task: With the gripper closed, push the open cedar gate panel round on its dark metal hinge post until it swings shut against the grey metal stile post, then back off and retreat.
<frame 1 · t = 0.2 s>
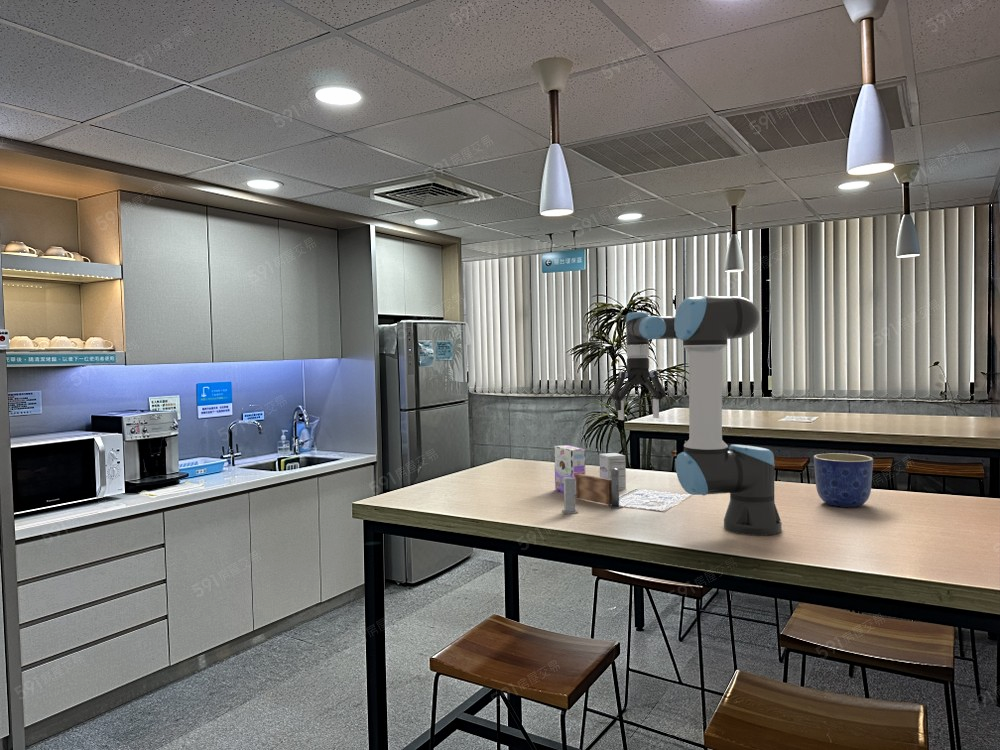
hand: (638, 418, 234), 27 cm above the table, fingers open, 13 cm apart
candy box: (570, 492, 245), on the table
planter: (843, 505, 216), on the table
hinge post: (615, 507, 219), on the table
gate: (593, 488, 227), point 5 cm above the table, hinge at 60.0°
supplement box: (612, 488, 250), on the table
stile: (569, 511, 214), on the table
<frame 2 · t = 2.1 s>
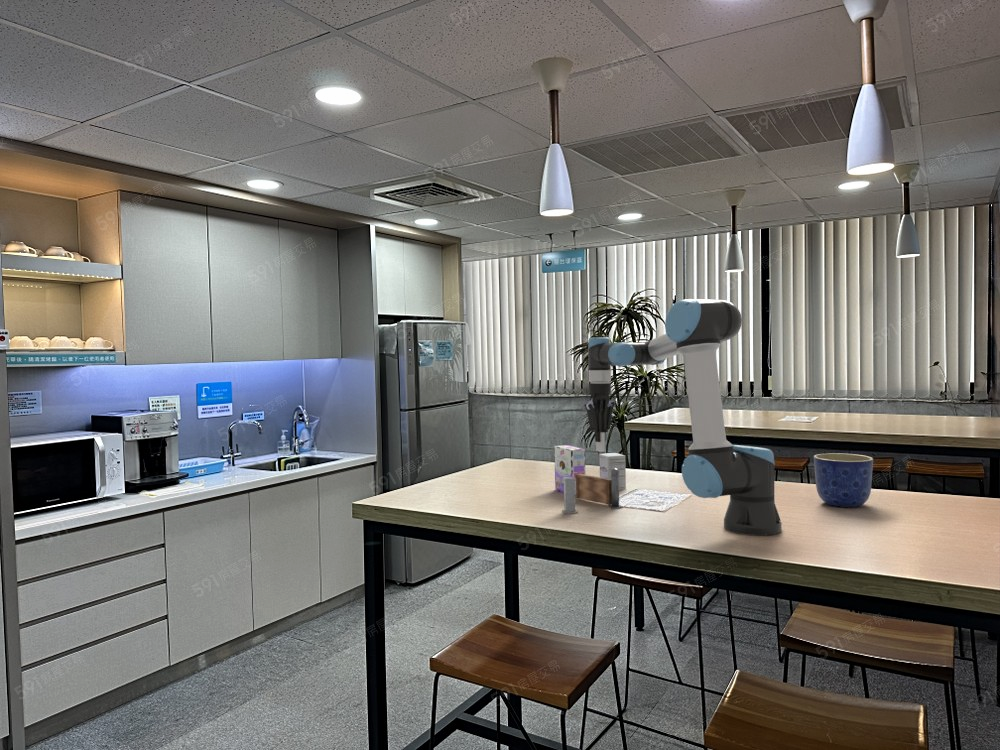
hand: (600, 451, 232), 16 cm above the table, fingers closed
nothing on the table moved.
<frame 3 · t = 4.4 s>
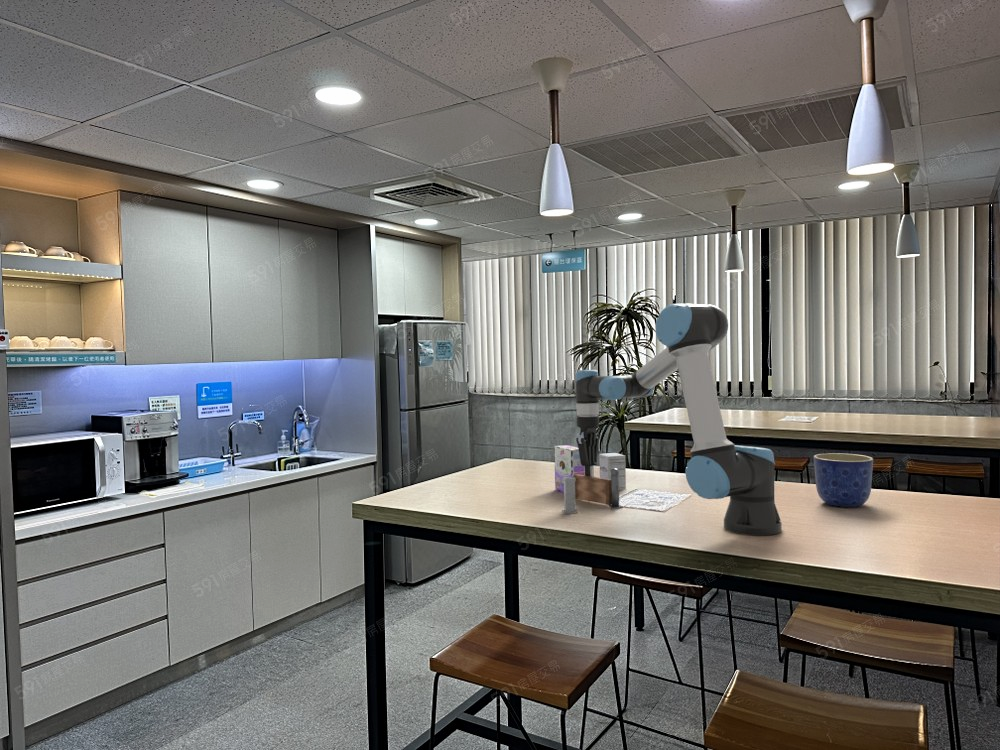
hand: (589, 484, 229), 5 cm above the table, fingers closed
gate: (592, 489, 226), point 5 cm above the table, hinge at 56.2°, touching gripper
everything else where it was.
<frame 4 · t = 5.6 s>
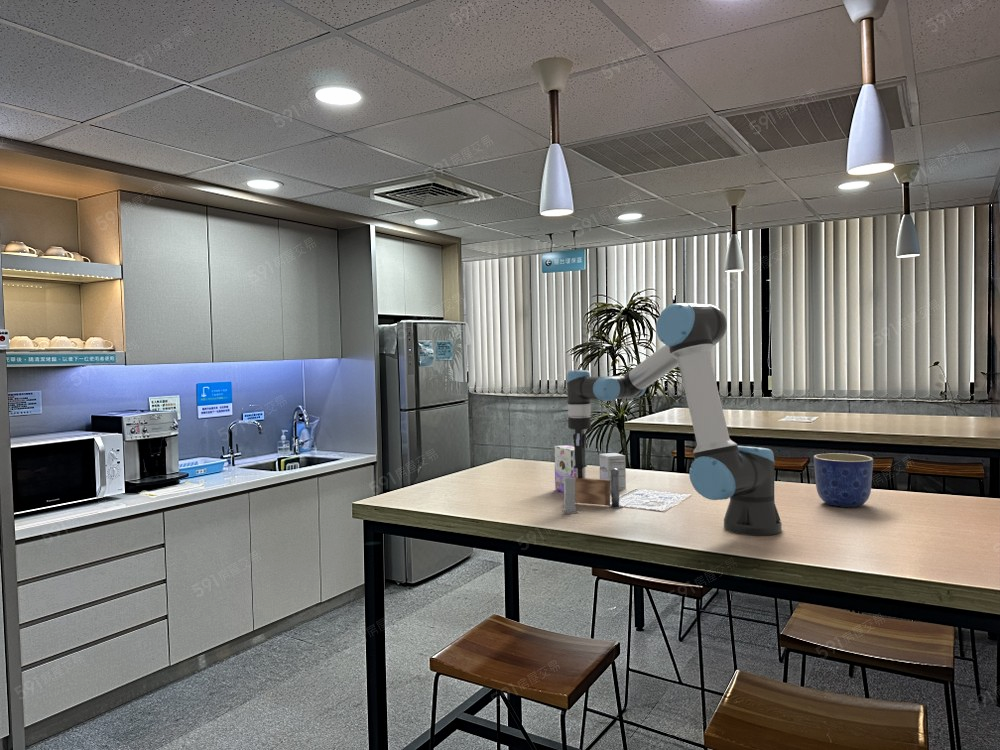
hand: (580, 487, 226), 5 cm above the table, fingers closed
gate: (587, 491, 223), point 5 cm above the table, hinge at 34.1°, touching gripper
everything else where it was.
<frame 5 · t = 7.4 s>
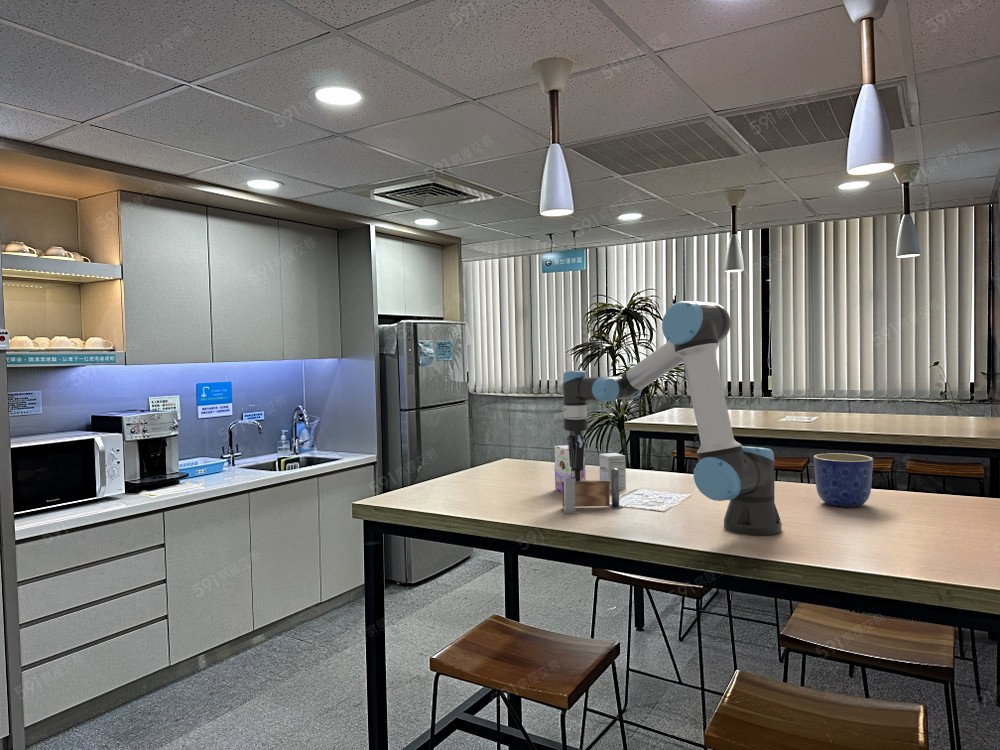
hand: (576, 490, 221), 5 cm above the table, fingers closed
gate: (585, 493, 219), point 5 cm above the table, hinge at 9.8°, touching gripper
everything else where it was.
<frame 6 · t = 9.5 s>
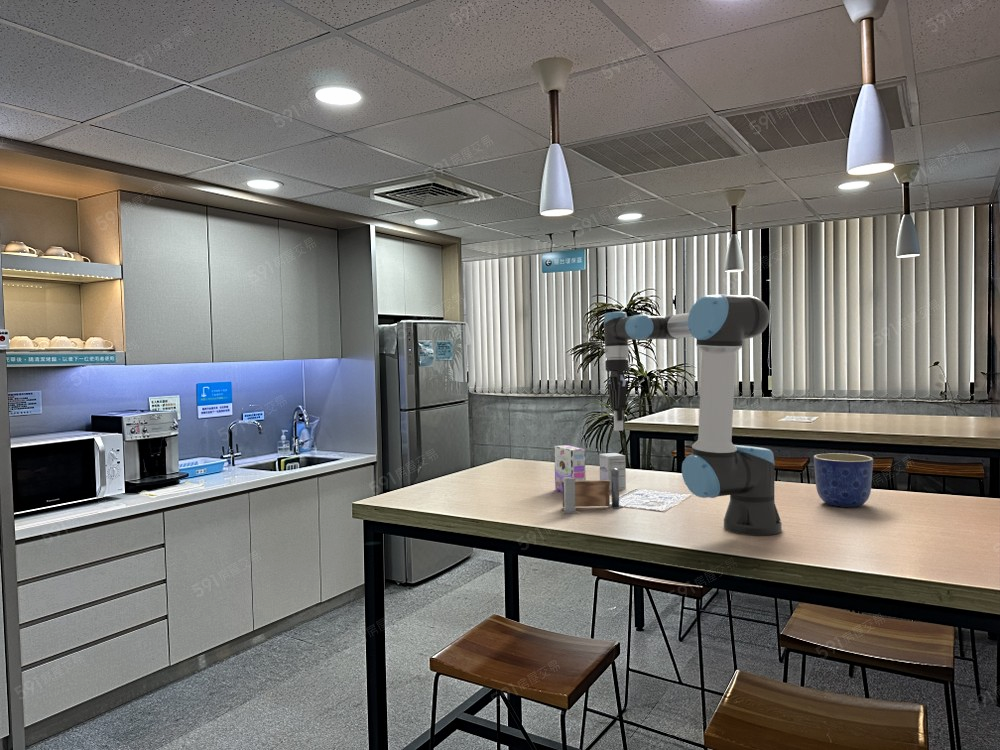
hand: (618, 430, 224), 24 cm above the table, fingers closed
gate: (585, 493, 219), point 5 cm above the table, hinge at 9.8°
everything else where it was.
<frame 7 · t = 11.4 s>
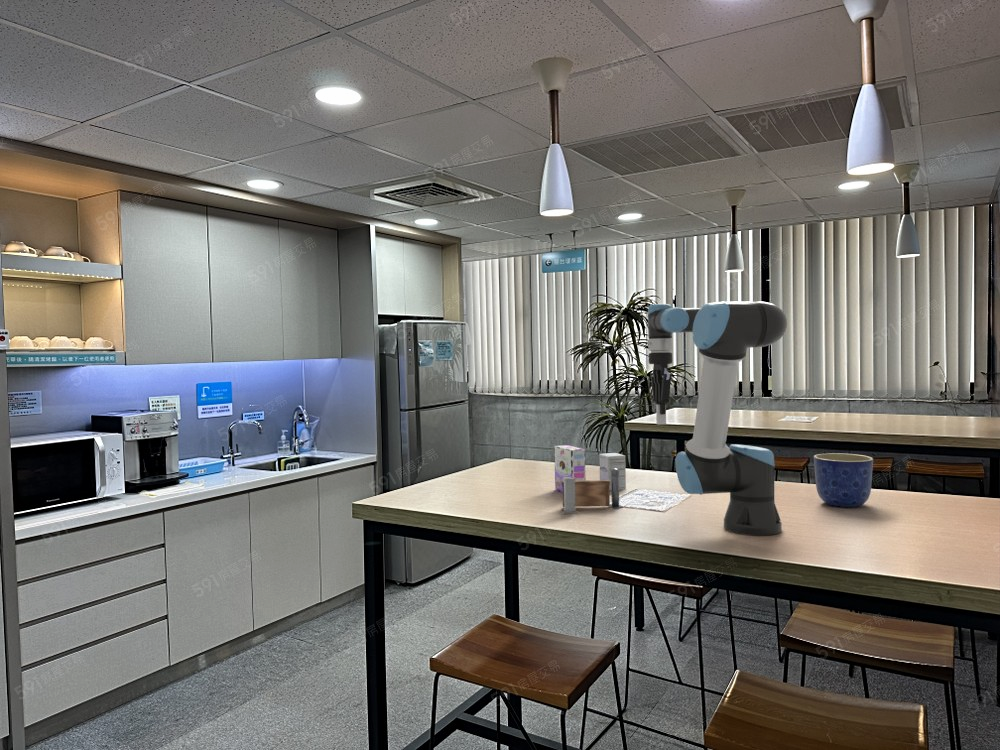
hand: (661, 424, 221), 26 cm above the table, fingers closed
nothing on the table moved.
at the end: gate at +10° (first picture: +60°); the gripper is holding nothing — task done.
